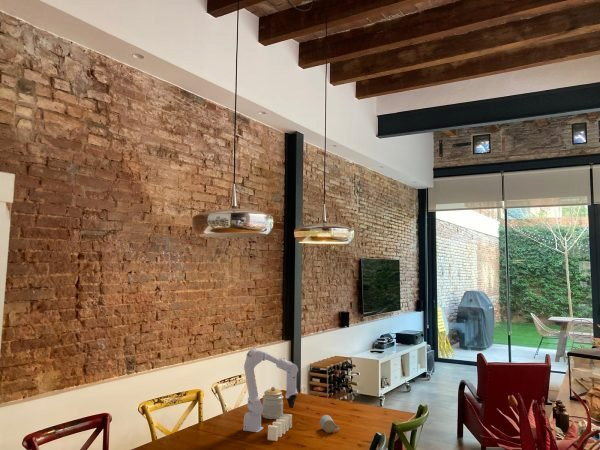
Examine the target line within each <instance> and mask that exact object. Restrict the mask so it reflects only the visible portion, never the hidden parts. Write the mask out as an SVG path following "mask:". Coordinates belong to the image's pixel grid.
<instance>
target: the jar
mask: <svg viewBox="0 0 600 450" xmlns="http://www.w3.org/2000/svg"><path fill="white" fill-rule="evenodd" d="M262 399H263V400H262V402H261V404H262V405H263V411H262V413H261V416H262V417H263V418H265V419H267V420H276V419H279V417H280V416H283V414H284V401H283V399H284V395H283V391H281V390H280V389H276V387H275V386H271V388H268V389H266V391H264V392H263V395H262Z"/></svg>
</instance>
